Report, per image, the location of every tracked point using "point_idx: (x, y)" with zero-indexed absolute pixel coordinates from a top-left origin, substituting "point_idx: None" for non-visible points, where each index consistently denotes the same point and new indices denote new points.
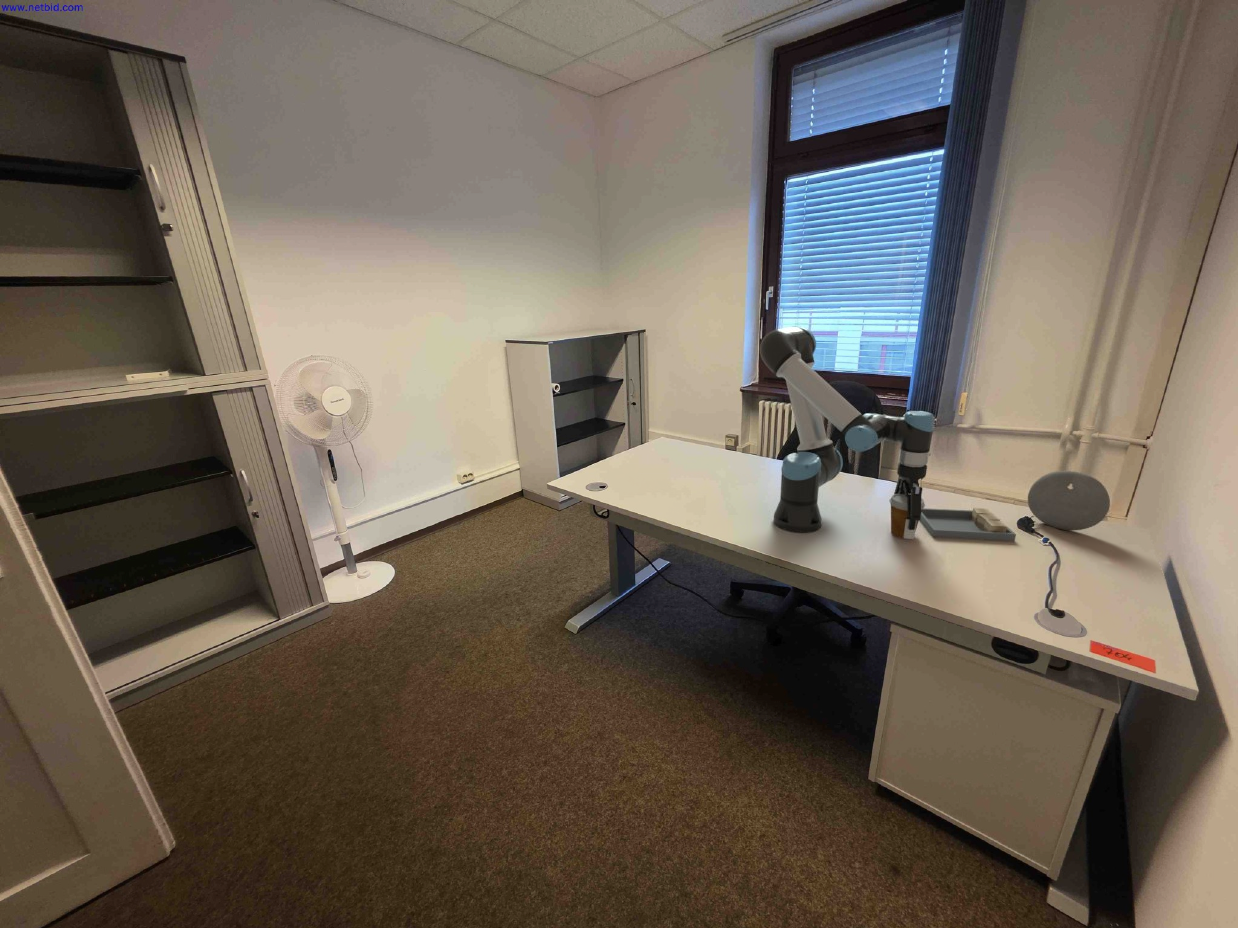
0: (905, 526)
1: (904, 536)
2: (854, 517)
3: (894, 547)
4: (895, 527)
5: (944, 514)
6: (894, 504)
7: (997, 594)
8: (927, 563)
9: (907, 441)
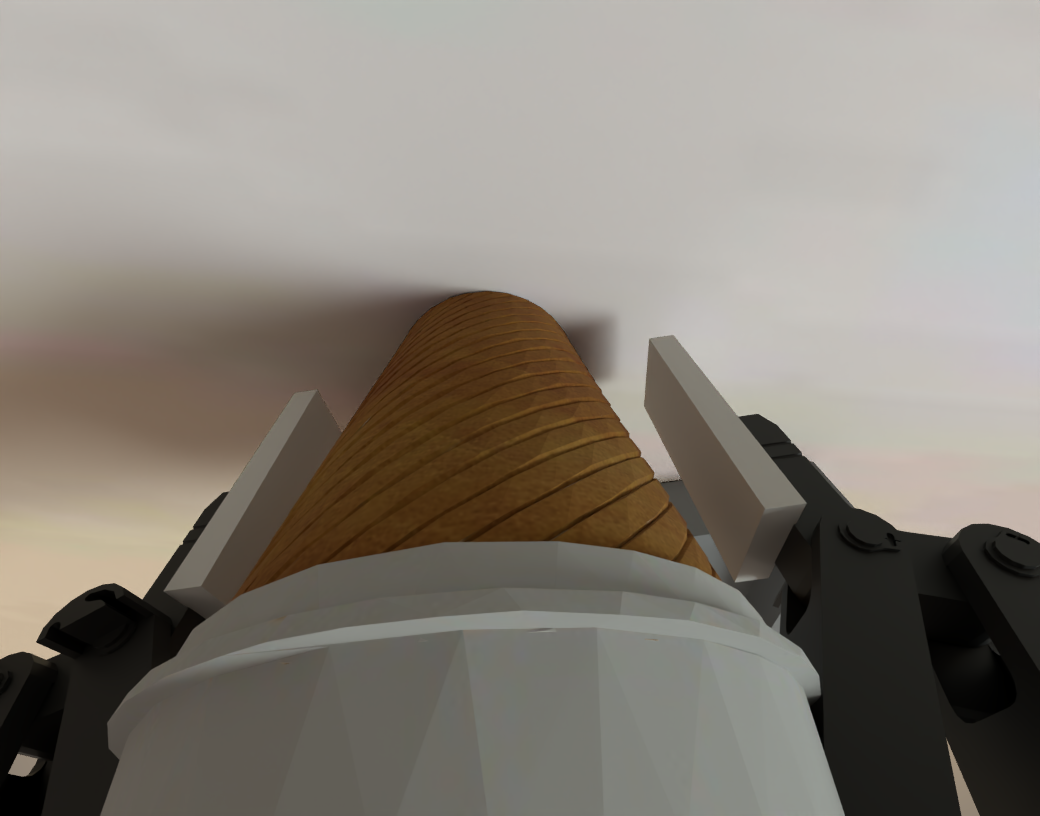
0: (249, 480)
1: (288, 404)
2: None
3: (148, 290)
4: (394, 358)
5: (767, 581)
6: (188, 687)
7: (8, 628)
8: (58, 468)
9: None
